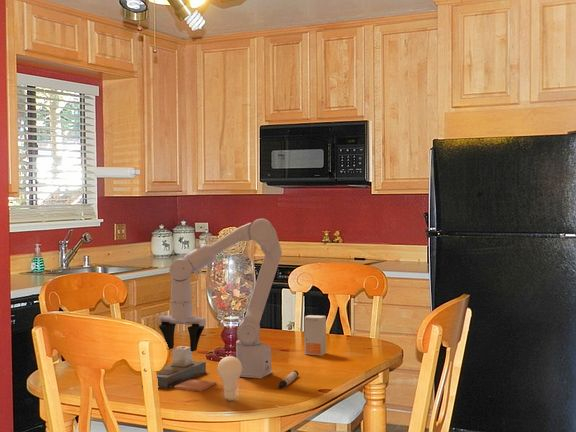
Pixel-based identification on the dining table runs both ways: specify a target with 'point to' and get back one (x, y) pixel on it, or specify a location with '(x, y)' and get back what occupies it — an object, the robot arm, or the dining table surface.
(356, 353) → the dining table surface
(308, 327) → the skincare box
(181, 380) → the grey slotted tray
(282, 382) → the marker
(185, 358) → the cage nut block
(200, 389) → the mat
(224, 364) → the lightbulb
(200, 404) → the dining table surface
